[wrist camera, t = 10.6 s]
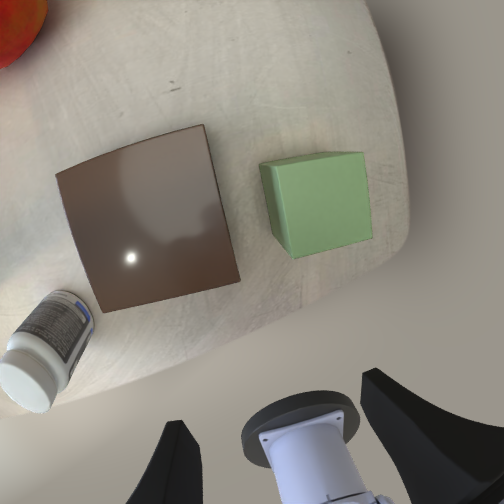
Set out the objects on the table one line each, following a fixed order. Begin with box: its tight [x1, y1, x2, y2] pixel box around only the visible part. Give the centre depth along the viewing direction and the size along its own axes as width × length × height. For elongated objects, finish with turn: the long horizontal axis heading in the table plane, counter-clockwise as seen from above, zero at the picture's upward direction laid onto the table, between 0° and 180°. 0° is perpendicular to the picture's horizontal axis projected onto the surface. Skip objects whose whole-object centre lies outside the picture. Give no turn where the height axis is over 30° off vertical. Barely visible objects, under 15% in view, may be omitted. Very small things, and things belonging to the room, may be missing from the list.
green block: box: [259, 152, 372, 259], centre depth 16 cm, size 5×5×5 cm
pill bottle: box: [0, 291, 94, 413], centre depth 14 cm, size 5×5×8 cm
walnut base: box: [55, 124, 241, 313], centre depth 15 cm, size 8×8×4 cm
